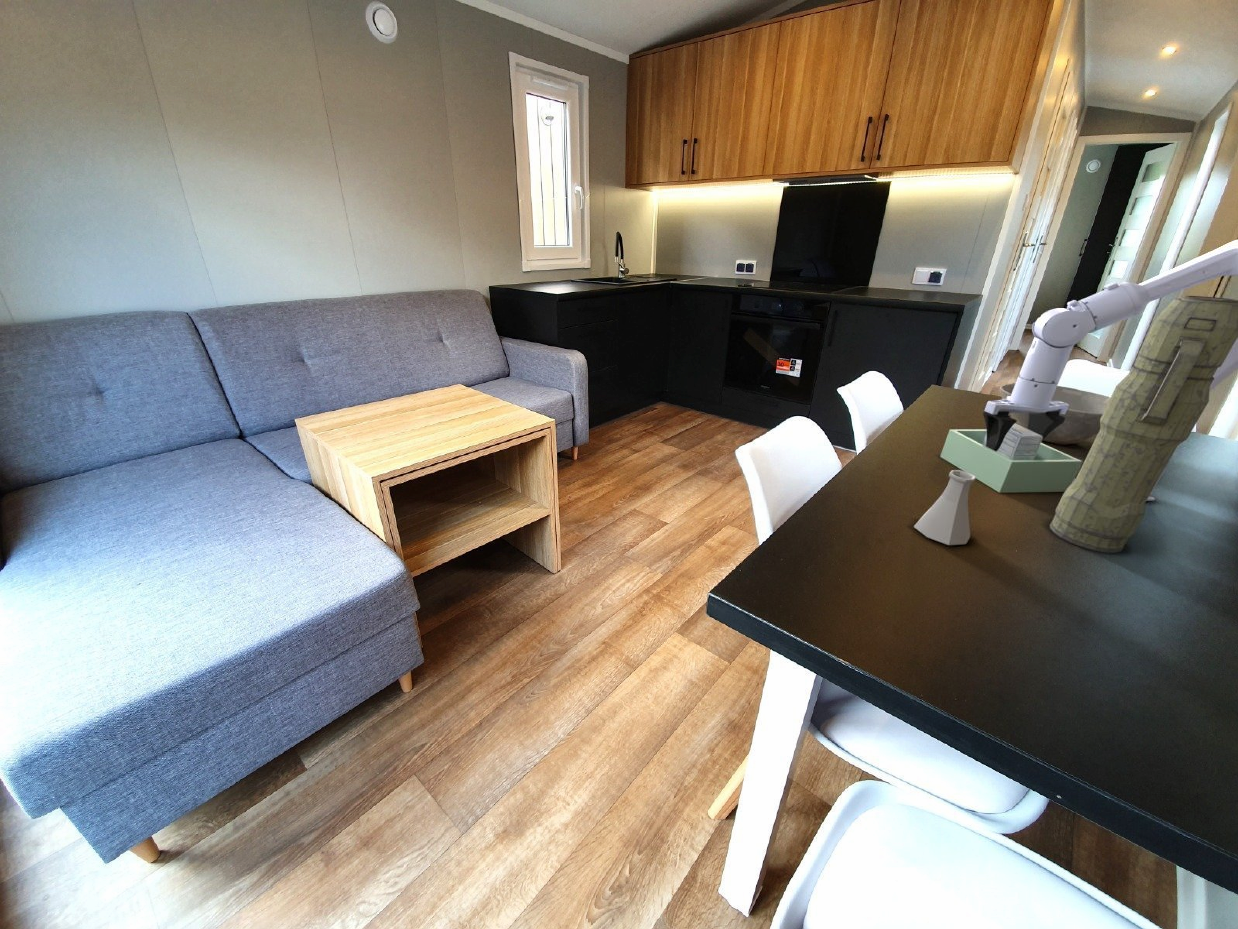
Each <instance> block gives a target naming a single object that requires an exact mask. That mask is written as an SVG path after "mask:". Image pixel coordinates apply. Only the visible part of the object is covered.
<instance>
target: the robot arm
mask: <svg viewBox="0 0 1238 929" xmlns="http://www.w3.org/2000/svg"><path fill="white" fill-rule="evenodd" d="M1225 276H1226V277H1227V276H1228V277H1231V276H1233V277H1234V276H1238V239H1235V240H1233V241H1230V242H1228V243H1226V244H1224V245H1222V246H1220V247H1218V248H1216V249H1214V250H1210V251H1209V252H1207V253H1205V254H1202V255H1200V256H1197V257H1196V258H1193V259H1192V260H1189V261H1187V262H1184V263H1183V264H1181V265H1178V266H1175V267H1174V268H1171V269H1169V270H1167V271H1165V272H1162V273H1160V274H1158V275H1156V276H1154V277H1151V278H1149V279H1147V280H1145V281H1142V282H1139V283H1134V282H1129V281H1123V282H1121V283H1118V282H1110V283H1108V284H1106V285H1104V286H1103V290H1101V291H1099V292H1097V293H1094V294H1091V295H1089V296H1087V297H1085V298H1082V299H1080V300H1078V301H1077V300H1076V299H1072V300H1071V301H1068V302H1067V303H1066V305H1067V306H1066V308H1063V307H1061V308H1059V307H1058V308H1057V307H1056V308H1052V309H1049V310H1046V311H1045V312H1043V313H1042V314H1041V315H1040V317H1038V318H1037V319H1036V320H1035V322H1033V323H1032V325H1031V331H1032V334H1033V336H1034V337H1033V340H1032V342H1031V345H1030V347H1029V349H1028V352H1027V353H1026V356H1025V358H1024V361H1023V363H1022V366H1021V369H1020V371H1019V374H1018V376H1017V379H1016V381H1015V383H1016V384H1015V387H1014V389H1013V392H1012V394H1011V396H1007V398H1006V399H1003V400H1002V399H997V400H988V401H987V403H986V405H985V407H984V409H983V412H982V416H983V418H984V423H985V429H986V430H987V438H986V447H988V448H990V449H992V450H994V451H998V449H999V448H1000V446H1001V444H1002V442H1003V440H1004V438H1005V436H1006V434H1007V433H1008V431H1009V430H1010V428H1011V427H1012V426H1013V425H1014V424H1015V423H1016V422H1017V420H1015V419H1013V418H1010V415H1009V413H1029V422H1028V428H1027V429H1029V430H1031V431H1033V432H1035V433H1037V434H1039V435H1041V436H1042V437H1043V439H1042V441H1041V443H1043V442H1044V441H1043V440H1044V438H1045V437H1046V436H1047V435H1048V434H1049V433H1050V432H1051V431H1053V430H1054V429H1055V428H1056V427H1058V426H1059V425H1061V424H1062V423H1064V420H1065V418H1064V417H1062V416H1059V414H1065V413H1066V411H1067V409H1068V406H1069V404H1066V403H1063V402H1060V401H1051V399H1052V397H1053V394H1054V392H1055V390H1056V387H1057V386H1059V382H1060V380H1061V378H1062V375H1063V373H1064V370H1066V369H1065V368H1066V366H1067V364H1068V361H1069V359H1070V356H1071V353H1072V351H1073V349H1074V346H1075V345H1077V344H1079V343H1080V342H1082V341H1083V340H1084V339H1085V338H1086V336H1087V335H1088V334H1092V333H1094V332H1097V331H1099V330H1102V329H1104V328H1108V327H1110V326H1113V325H1114V324H1117V323H1120V322H1123V321H1125V320H1128V319H1130V318H1133V317H1137V316H1138V315H1140V314H1142V313H1143V312H1144V310H1145V309H1146V307H1147V306H1148V305H1149V303H1150V302H1154V301H1156V300H1159V299H1161V298H1164V297H1165V298H1166V297H1167V296H1170V295H1172V294H1173V295H1174V294H1176V293H1178V292H1181V291H1184V290H1186V289H1189V288H1193V287H1195V286H1198V285H1201V284H1203V283H1206V282H1209V281H1211V280H1215V279H1217V278H1220V277H1225ZM1237 370H1238V338H1237V339H1236V341H1235V343H1234V345H1233V346H1232V348H1231V350H1230V352H1229V353H1228V355H1227V357H1226V359H1225V360H1224V362H1223V364H1222V366H1221V367H1218V368H1217V370H1216V372H1215V374H1214V375H1213V377H1214V380H1213V382H1212V383H1211V385H1210V392H1211V391H1212V390H1214V389H1215V388H1216V387H1217V386H1218V385H1220V384H1221V383H1222V382H1223V381H1225V380H1226V379H1227V378H1228V377H1230V376H1231V375H1232V374H1233V373H1235V372H1236V371H1237ZM1166 468H1167V466H1166V467H1165V469H1164V470H1163V472H1162V474H1161V476H1160V478H1159V479H1158V481H1157V483H1156V485H1155V486H1154V488H1153V490H1152V492H1151V493H1150V495H1149V497H1148V499H1147V500H1146V502H1153V501H1155V497H1153V496H1151V495H1152V493H1153V491H1154V489H1155V488H1156V486H1157V484H1158V483H1159V481H1160V479H1161V478H1162V476H1163V474H1164V472H1165V470H1166ZM1075 480H1076V478H1074V480H1073V482H1074V481H1075ZM1073 482H1072V483H1073Z"/></svg>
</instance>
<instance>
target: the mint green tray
mask: <svg viewBox="0 0 1238 929" xmlns="http://www.w3.org/2000/svg"><path fill="white" fill-rule="evenodd" d="M986 433H987V430H986V428H985V429H983V428H981V429H980V428H979V429H977V428H975V429H973V428H971V429H970V428H969V429H961V428H960V429H957V428H956V429H954V428H953V429H949V430H948V433H947V437H946V439H945V442H944V444H943V448H942V450H941V453H940V458H941V459H943V460H945V461H946V462H948V463H950V464H952V465H953V466H955V467H957V468H958V469H959V470H961V471H964V472H968V473H970V474H972V475H974V476H976V479H975V480H978V481H980V482H981V483H983V484H984V485H986V486H988V488H989V487H990V488H991V489H993V490H994V491H996V492H998V493H999V494H1000V493H1003V494H1005V493H1062V492H1063V493H1064V492H1065V491H1066V490H1067V488H1068V487H1069V486H1070V485H1071V484H1072V482H1073V480H1074V479H1076V477H1077V476H1076V475H1078V473H1079V471H1080V469H1081V467H1082V464H1083V460H1080V459H1078V458H1077V457H1074V456H1071V455H1070V454H1067V453H1065V452H1062V451H1061V450H1058V449H1056V448H1054V447H1052V446H1049V445H1047V444H1044V443H1043V442H1041V443H1040V446H1039V448H1038V451H1037V453H1036V456H1035V458H1034V460H1011V459H1009V458H1007V457H1005V456H1003V455H1001V454H999V453H998V452H996V451H994V450H992V449H990V448H988V447H986V446H984V445H982V444H983V441H984V439H985V436H986Z"/></svg>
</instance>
